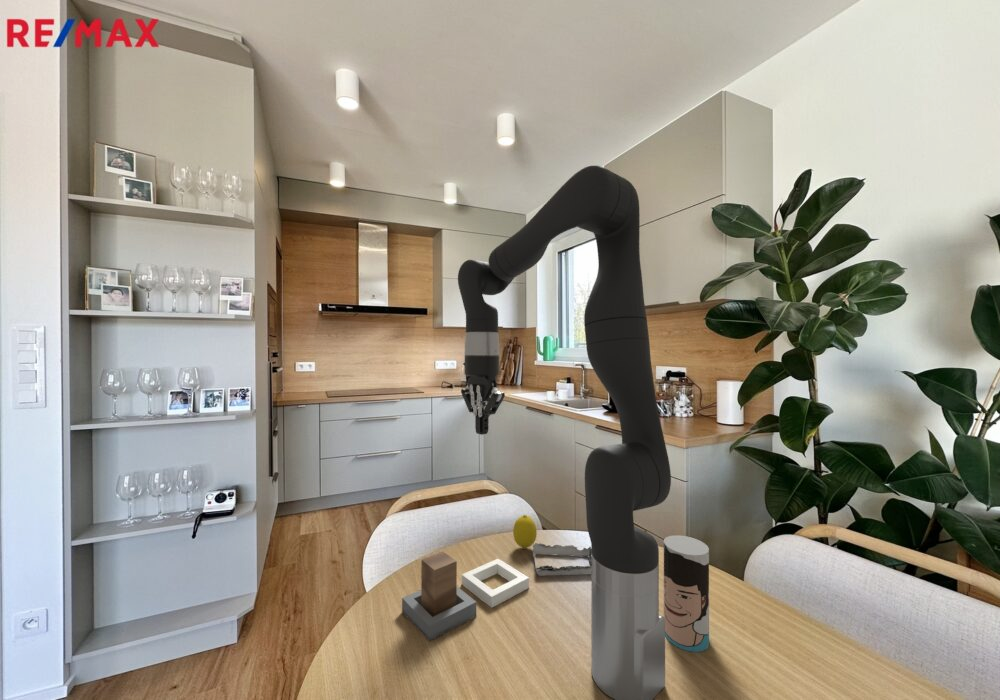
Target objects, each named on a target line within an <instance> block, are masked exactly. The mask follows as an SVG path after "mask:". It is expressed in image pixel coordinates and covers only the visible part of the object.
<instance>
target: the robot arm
mask: <svg viewBox="0 0 1000 700" xmlns="http://www.w3.org/2000/svg"><path fill="white" fill-rule="evenodd" d="M640 217H641V216H640V199H639V195H638V191H637V189H636V188H635V186H634V184H633V183H631V182H630V181H629V180H628V179H626V178H625V177H623V176H620V175H619V174H617V173H616V172H614V171H611V170H610V169H608V168H605V167H603V166H600V165H593V164H591V165H588V166H585V167H582V168H581V169H579V170H578V171H577V172H576V173H574V174H573V175H572V176H571V177H569V178H568V179H567V181H566V182H565V183H563V184H562V186H560V188H559V189H558V190H557V191H556V192H555V193H554V194H553V195H552V196H551V197H550V198H549V200H548V201H547V202H546V203H545V204H543V206H542V207H541V208H540V209H539V210H538V211H537V213H535V215H534V216H533V217H531V219H530V220H529V221H528V222H527V223H526V224H525V225H524V226H523V227H522V228H520V229H519V230H518V231H517V232H516V233H514V234H513V235H512V236H510V237H509V238H508V239H506V240H505V241H503V242H502V243H500V244H499V245H498V246H496V247H495V248H494V249H493V250H492V251H491V253H489V256H488V261H482V260H477V259H467V260H465V261H464V262H463V263H462V264H461V265H460V267H459V269H458V273H457V284H458V289H459V293H460V296H461V300H462V305H463V308H464V311H465V312H464V313H465V337H464V375H465V376H467V377H468V378H467V386H466V387H465V388H461V390H460V393H461V396H462V398H463V401H464V404H465V405H466V408H467V410H468V412H469V413H472V414H473V416H474V417H475V418H474V419H475V426H474V427H475V433H476V434H477V435H488V433H489V423H490V422H489V418H490V416H492V415H495V414H496V413H497V411H498V409H499V407H500V406H501V404H502V402H503V400H504V398H505V395H506V394H505V391H501V392H500V390H499V389H498V383H497V379H496V378H497V376H499V375H500V340H499V311H498V309H497V307H495V306H493V305H491V304H489V303H487V302H486V301H485V299H484V296H496V295H498V294H501V293H502V292H504V291H505V290H506V289H507V288H508V286H509V285H510V284H511V283H512V282H513V280H514V279H515V278H516V277H518V276H520V275H521V274H523V273H525V272H527V271H528V270H530V269H532V268H533V267H534V266H535V265H537V264H538V263H539V262H540V260H541V259H542V258H543V256H544V255H545V253H546V250H547V248H548V246H549V244H550V243H551V241H553V239H555V238H556V237H558V236H559V235H561V234H563V233H565V232H567V231H570V230H571V229H572V230H573V229H575V228H579V229H582V230H584V231H588V232H591V233H593V234H594V238H595V242H596V248H597V259H598V267H597V269H598V270H597V275H596V278H595V280H594V283H593V286H592V289H591V291H590V294H589V296H588V299H587V301H586V305H585V309H584V314H583V315H584V318H583V321H584V322H583V323H584V334H585V335H584V336H585V347H586V354H587V358H588V361H589V364H590V365H591V368H592V369H593V371H594V372H595V375H596V377H597V378H598V380H599V381H600V383H601V384H602V386H603V387H604V389H605V390H606V391H607V393H608V395H609V396H610V398H611V400H612V401H613V404H614V406H615V409H616V411H617V414H618V419H619V425H620V432H621V443H618V444H617V443H616V444H610V445H602V446H599V447H596V448H594V449H593V450H591V452H590V453H589V454H588V457H587V459H586V462H585V468H584V495H585V511H586V512H585V513H586V515H585V516H586V527H587V532H588V536H589V540H590V544H591V545H590V547H591V551H592V555H591V556H592V574H591V598H590V599H591V605H590V607H591V610H590V611H591V619H590V620H591V621H590V622H591V625H590V626H591V632H590V633H591V634H590V635H591V637H590V639H591V641H590V644H591V645H590V646H591V647H590V648H591V652H590V654H591V657H590V658H591V665H590V666H591V675H592V678H593V682H595V684H596V685H597V687H598V688H599V689H600V690H601V691H602V692H603V693H605V694H606V695H607V696H608V697H610V698H612V699H613V700H654V699H655V697H656V696H658V695H659V693H660V692H661V690H662V689H663V688H664V687H665V686H666V636H665V618H664V615H663V616H662V615H661V614H659V611H660V610H659V609H660V608H659V606H660V605H659V604H660V603H659V601H660V598H659V597H660V596H659V595H660V592H659V591H660V590H659V587H660V583H659V582H660V579H659V578H660V569H659V567H660V566H659V565H660V564H659V562H660V555H659V552H660V551H659V550H660V549H659V544H658V541H657V540H656V538H655V537H654V536H653V535H652V534H651V533H649V532H647V531H646V530H644V529H641V528H639V527H638V526H637V527H636V526H635V523H634V511H640V510H644V509H648V508H652V507H656V506H658V505H661V504H662V503H664V502H665V500H666V499H667V498H668V496H669V494H670V490H671V486H672V476H671V475H672V474H671V473H672V472H671V464H670V459H669V455H668V451H667V446H666V441H665V435H664V431H663V427H662V422H661V419H660V415H659V410H658V402H657V396H656V390H655V389H656V388H655V383H654V374H653V367H652V361H651V360H652V359H651V358H652V357H651V347H650V346H651V345H650V335H649V327H648V326H649V325H648V317H647V312H646V305H645V298H644V297H645V296H644V295H645V294H644V287H643V275H642V267H641V258H640V257H641V256H640V253H641V252H640V251H641V250H640V221H641V220H640ZM483 295H484V296H483Z"/></svg>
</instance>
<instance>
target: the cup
mask: <svg viewBox="0 0 1000 700" xmlns="http://www.w3.org/2000/svg"><path fill="white" fill-rule="evenodd" d="M663 617H664V618H665V639H666V640H668V642H670V643H671V644H672V645H673V646H675V647H678V648H679V649H682V650H684V651H687V652H692V653H693V652H694V653H695V652H696V653H698V652H703V651H705V650H707V649H708V648H709V646H710V548H709V546H708V545H707V544H706V543H705V542H703V541H701V540H699V539H697V538H694V537H690V536H687V535H679V534H678V535H669V536H666V537H665V538H664V540H663Z"/></svg>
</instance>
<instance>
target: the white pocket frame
mask: <svg viewBox="0 0 1000 700" xmlns="http://www.w3.org/2000/svg"><path fill="white" fill-rule="evenodd" d="M497 574H498V576H499V575H500V576H501V577H502V578H504V579H505V580H506V581H508V582H505V583H504V584H502V585H500V586H498V587H496V588H494V589H492V587H490V586H488V585H487V584H485V583H484V582H482V581H484V580H486V579H488V578H491V577H493V576H494V575H497ZM461 585H462V586H463V587H464V588H466V589H467V590H468V591H469V592H471V593H472V594H473V595H474V596H476V597H477V598H479V600H481V601H482V602H484V603H485V604H486V605H487V606H489V607H490V608H493V607H494V608H495V607H496V606H498V605H500V604H501V603H504V602H505V601H507V600H509V599H511V598H512V597H514V596H517V595H519V594H520V593H522V592H524V591H525V590H527V589H529V588H530V577H529V576H527V575H525V574H524V573H522V572H520V571H519V570H517V569H515V568H514V567H513V566H511V565H509V564H508V563H506V562H504V561H502V560H501V559H500V558H496V559H494V560H491V561H489V562H486V563H484V564H482V565H480V566H478V567H475V568H474V569H471V570H468V571H467V572H464V573H462V574H461Z"/></svg>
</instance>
